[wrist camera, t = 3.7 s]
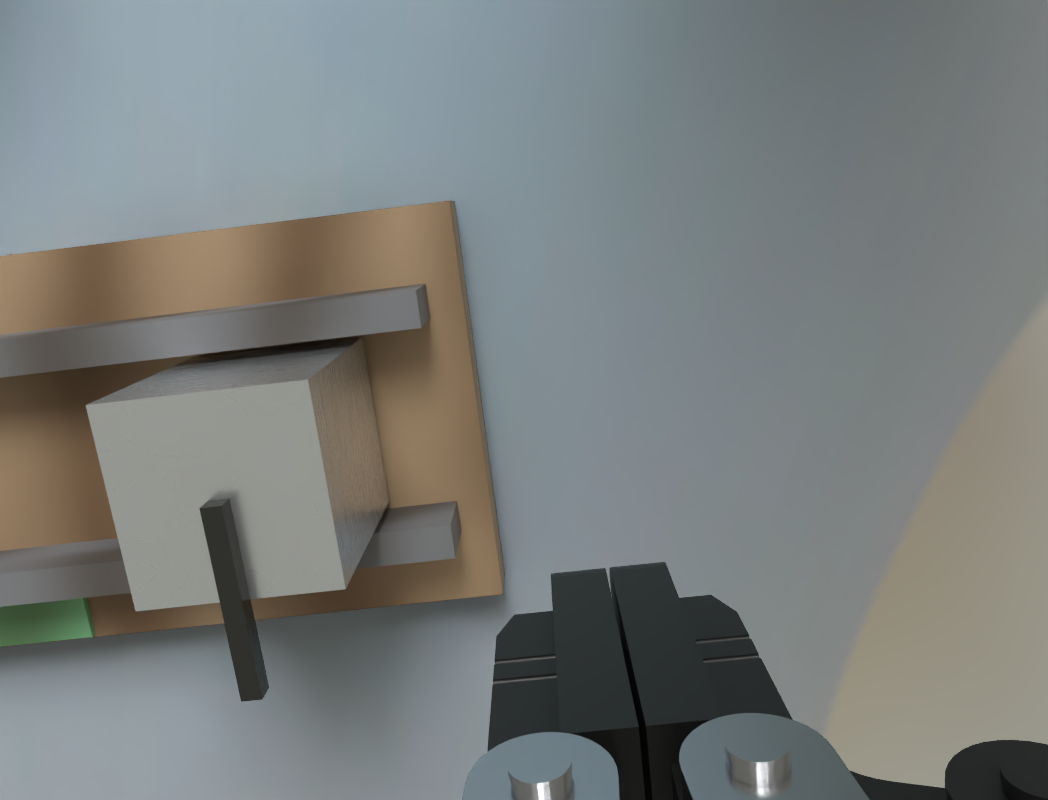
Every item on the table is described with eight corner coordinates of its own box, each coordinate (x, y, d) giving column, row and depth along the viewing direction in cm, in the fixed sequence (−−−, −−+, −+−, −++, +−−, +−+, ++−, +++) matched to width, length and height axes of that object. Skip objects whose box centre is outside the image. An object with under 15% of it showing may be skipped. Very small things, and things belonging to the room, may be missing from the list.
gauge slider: (362, 337, 24) (301, 384, 18) (400, 571, 26) (357, 689, 20) (192, 357, 25) (73, 410, 18) (241, 588, 26) (147, 710, 20)
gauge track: (454, 201, 25) (420, 199, 18) (504, 573, 28) (493, 705, 20) (-255, 288, 26) (-564, 321, 19) (-140, 641, 29) (-371, 791, 21)
